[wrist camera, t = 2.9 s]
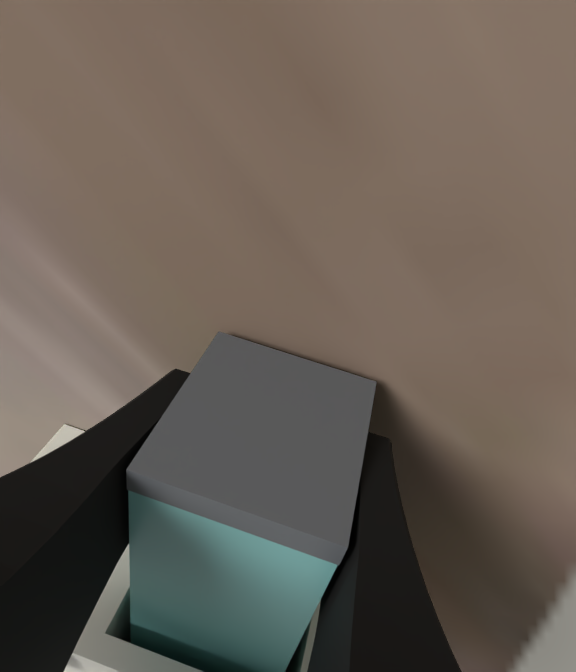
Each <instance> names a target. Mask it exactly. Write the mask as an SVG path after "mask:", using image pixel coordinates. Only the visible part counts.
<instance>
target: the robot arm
mask: <svg viewBox="0 0 576 672" xmlns="http://www.w3.org/2000/svg"><path fill="white" fill-rule="evenodd" d="M190 374H191V373H188V372H185V371H181V370H178V369H174V370H172V371H171V372H169V373H168V374H167V375H165V376H164V377H163V378H161V379H160V380H159V381H158V382H156V383H155V384H154V385H152V386H151V387H150V388H148V389H147V390H146V391H144V392H143V393H142V394H140V395H139V396H137V397H136V398H135V399H133V400H132V401H131V402H129V403H128V404H126V405H125V406H123V407H122V408H120V409H119V410H117V411H116V412H115V413H113V414H112V415H110V416H109V417H107V418H106V419H104V420H103V421H101V422H100V423H98V424H97V425H95V426H93V427H92V428H90V429H88V430H87V431H85V432H84V433H82V434H80V435H79V436H77V437H75V438H74V439H72V440H71V441H69V442H67V443H66V444H64V445H62V446H60V447H59V448H57V449H55V450H53V451H51V452H50V453H48V454H46V455H44V456H42V457H40V458H38V459H37V460H35V461H33V462H31V463H29V464H27V465H25V466H23V467H21V468H19V469H17V470H15V471H13V472H11V473H9V474H6V475H4V476H2V477H0V672H64V670H65V668H66V666H67V663H68V661H69V659H70V657H71V655H72V653H73V651H74V649H75V647H76V644H77V642H78V640H79V638H80V636H81V634H82V632H83V630H84V628H85V626H86V624H87V622H88V620H89V618H90V616H91V614H92V612H93V610H94V608H95V606H96V604H97V602H98V600H99V598H100V596H101V594H102V592H103V590H104V588H105V586H106V584H107V582H108V580H109V578H110V576H111V574H112V573H113V571H114V569H115V567H116V565H117V563H118V561H119V559H120V558H121V556H122V554H123V552H124V551H125V549H126V547H127V546H128V544H129V502H128V490H127V477H126V469H127V468H128V466H129V465H130V463H131V462H132V460H133V459H134V457H135V456H136V454H137V453H138V451H139V450H140V448H141V447H142V445H143V444H144V442H145V441H146V439H147V438H148V436H149V435H150V433H151V432H152V430H153V429H154V427H155V426H156V424H157V423H158V421H159V420H160V418H161V417H162V415H163V414H164V412H165V411H166V409H167V408H168V406H169V405H170V403H171V402H172V400H173V399H174V397H175V396H176V395H177V393H178V392H179V390H180V389H181V387H182V386H183V384H184V383H185V381H186V380H187V378H188V377H189V375H190ZM307 672H461V670H460V668H459V665H458V663H457V661H456V659H455V657H454V655H453V653H452V650H451V648H450V646H449V643H448V641H447V639H446V636H445V634H444V632H443V629H442V627H441V624H440V622H439V620H438V617H437V614H436V612H435V609H434V607H433V604H432V601H431V599H430V596H429V593H428V591H427V588H426V585H425V582H424V579H423V576H422V573H421V570H420V567H419V564H418V561H417V558H416V555H415V551H414V548H413V545H412V541H411V538H410V534H409V531H408V527H407V523H406V519H405V515H404V511H403V507H402V503H401V499H400V494H399V489H398V484H397V479H396V474H395V468H394V462H393V454H392V444H391V442H390V440H389V439H388V438H385V437H382V436H379V435H376V434H373V433H370V432H368V435H367V440H366V446H365V452H364V458H363V464H362V469H361V475H360V481H359V487H358V493H357V498H356V504H355V510H354V516H353V521H352V527H351V533H350V539H349V545H348V549H347V551H346V553H345V555H344V557H343V559H342V561H341V563H340V565H337V567H336V569H335V571H334V573H333V575H332V577H331V580H330V582H329V584H328V586H327V588H326V590H325V592H324V594H323V596H322V598H321V602H320V609H319V617H318V622H317V628H316V634H315V639H314V643H313V648H312V652H311V657H310V661H309V666H308V670H307Z"/></svg>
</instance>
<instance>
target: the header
mask: <svg viewBox="0 0 576 672" xmlns="http://www.w3.org/2000/svg"><path fill="white" fill-rule="evenodd" d="M84 432H85V431H83V430H80V429H77V428H74V427H71V426H69V425H66V424H64V425H63V426H62V427H61V428H60V430H59V431H58V432H57V433H56V434H55V435H54V436H53V437H52V439H51V440H50V441H49V442H48V443H47V444H46V445H45V446H44V448H43V449H42V450H41V451H40V452H39V453H38V454H37V456H36V457H35V458H34V459H33V460H32V461H31V462H33V461H35V460H37V459H38V458H40V457H42V456H44V455H46V454H48V453H50V452H51V451H53V450H55V449H57V448H59V447H60V446H62V445H64V444H66V443H67V442H69V441H71V440H72V439H74V438H75V437H77V436H79V435H80V434H82V433H84ZM31 462H30V463H31ZM320 602H321V600H320ZM320 602H319V604H318V606H317V608H316V610H315V612H314V614H313V616H312V618H311V620H310V622H309V624H308V626H307V628H306V630H305V632H304V634H303V636H302V638H301V640H300V642H299V644H298V646H297V648H296V650H295V652H294V654H293V656H292V658H291V660H290V662H289V664H288V666H287V668H286V670H285V672H307V670H308V666H309V661H310V657H311V652H312V648H313V643H314V639H315V634H316V628H317V622H318V617H319V609H320ZM64 672H203V671H200V670H198V669H195V668H193V667H190V666H188V665H185V664H182V663H180V662H177V661H175V660H172V659H170V658H167V657H164V656H162V655H159V654H157V653H154V652H152V651H149V650H146V649H144V648H141V647H139V646H136V645H134V644H131V629H130V565H129V544H128V546H127V547H126V549H125V551H124V552H123V554H122V556H121V558H120V559H119V561H118V563H117V565H116V567H115V569H114V571H113V573H112V574H111V576H110V578H109V580H108V582H107V584H106V586H105V588H104V590H103V592H102V594H101V596H100V598H99V600H98V602H97V604H96V606H95V608H94V610H93V612H92V614H91V616H90V618H89V620H88V622H87V624H86V626H85V628H84V630H83V632H82V634H81V636H80V638H79V640H78V642H77V644H76V647H75V649H74V651H73V653H72V655H71V657H70V659H69V661H68V663H67V666H66V668H65V670H64Z"/></svg>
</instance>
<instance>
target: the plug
mask: <svg viewBox="0 0 576 672" xmlns="http://www.w3.org/2000/svg"><path fill="white" fill-rule="evenodd" d="M376 383H377V382H376V381H373V380H370V379H367V378H363V377H360V376H357V375H354V374H351V373H348V372H345V371H341V370H338V369H335V368H332V367H329V366H326V365H323V364H319V363H316V362H313V361H310V360H307V359H304V358H301V357H297V356H294V355H291V354H288V353H285V352H282V351H279V350H275V349H272V348H269V347H266V346H263V345H260V344H257V343H253V342H250V341H247V340H244V339H241V338H238V337H235V336H231V335H228V334H225V333H222V332H218V333H217V335H216V336H215V338H214V339H213V341H212V342H211V344H210V345H209V347H208V348H207V350H206V351H205V353H204V354H203V356H202V357H201V359H200V360H199V362H198V363H197V365H196V366H195V368H194V369H193V371H192V372H191V374H190V375H189V377H188V378H187V380H186V381H185V383H184V384H183V386H182V387H181V389H180V390H179V392H178V393H177V395H176V396H175V397H174V399H173V400H172V402H171V403H170V405H169V406H168V408H167V409H166V411H165V412H164V414H163V415H162V417H161V418H160V420H159V421H158V423H157V424H156V426H155V427H154V429H153V430H152V432H151V433H150V435H149V436H148V438H147V439H146V441H145V442H144V444H143V445H142V447H141V448H140V450H139V451H138V453H137V454H136V456H135V457H134V459H133V460H132V462H131V463H130V465H129V466H128V468H127V469H126V477H127V490H128V502H129V565H130V629H131V644H134V645H136V646H139V647H141V648H144V649H146V650H149V651H152V652H154V653H157V654H159V655H162V656H164V657H167V658H170V659H172V660H175V661H177V662H180V663H182V664H185V665H188V666H190V667H193V668H195V669H198V670H200V671H203V672H285V670H286V668H287V666H288V664H289V662H290V660H291V658H292V656H293V654H294V652H295V650H296V648H297V646H298V644H299V642H300V640H301V638H302V636H303V634H304V632H305V630H306V628H307V626H308V624H309V622H310V620H311V618H312V616H313V614H314V612H315V610H316V608H317V606H318V604H319V602H320V600H321V598H322V596H323V594H324V592H325V590H326V588H327V586H328V584H329V582H330V580H331V577H332V575H333V573H334V571H335V569H336V567H337V565H340V563H341V561H342V559H343V557H344V555H345V553H346V551H347V549H348V545H349V539H350V533H351V527H352V521H353V516H354V510H355V504H356V498H357V493H358V487H359V481H360V475H361V469H362V464H363V458H364V452H365V446H366V440H367V435H368V429H369V423H370V417H371V412H372V406H373V400H374V394H375V388H376Z"/></svg>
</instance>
